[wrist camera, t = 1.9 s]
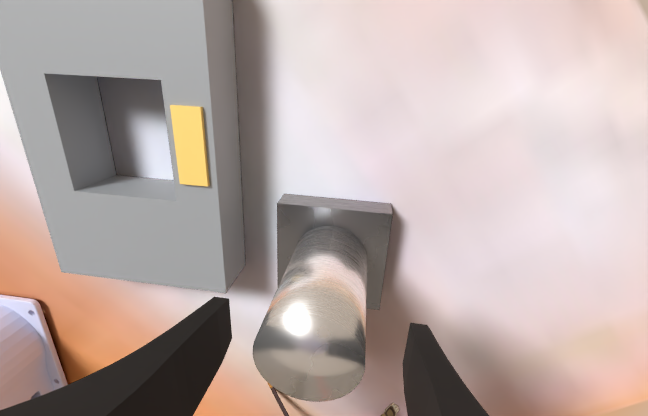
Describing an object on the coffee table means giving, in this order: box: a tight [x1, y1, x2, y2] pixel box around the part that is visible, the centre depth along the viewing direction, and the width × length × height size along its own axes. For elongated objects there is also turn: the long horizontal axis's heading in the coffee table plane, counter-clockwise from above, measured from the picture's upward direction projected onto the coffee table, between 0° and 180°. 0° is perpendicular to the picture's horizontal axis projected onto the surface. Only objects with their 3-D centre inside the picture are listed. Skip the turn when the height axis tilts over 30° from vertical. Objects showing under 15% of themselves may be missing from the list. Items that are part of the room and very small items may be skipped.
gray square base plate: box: [277, 194, 393, 310], centre depth 19 cm, size 6×6×2 cm
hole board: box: [0, 0, 245, 293], centre depth 17 cm, size 16×10×3 cm, turn 177°
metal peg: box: [253, 226, 367, 402], centre depth 15 cm, size 4×4×7 cm
